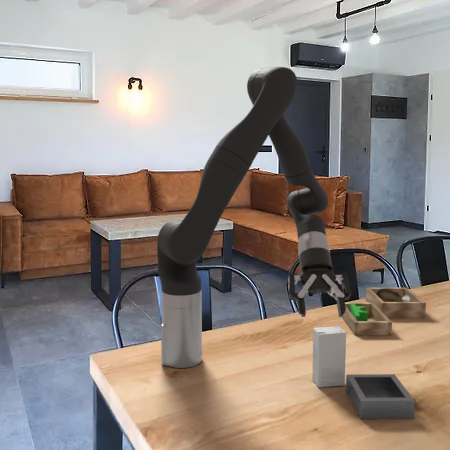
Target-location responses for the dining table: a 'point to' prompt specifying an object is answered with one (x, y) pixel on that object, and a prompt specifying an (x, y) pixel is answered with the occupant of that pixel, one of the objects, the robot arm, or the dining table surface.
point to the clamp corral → (368, 327)
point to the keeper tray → (379, 396)
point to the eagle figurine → (392, 296)
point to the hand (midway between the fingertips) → (322, 315)
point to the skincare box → (329, 356)
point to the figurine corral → (398, 304)
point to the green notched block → (359, 312)
